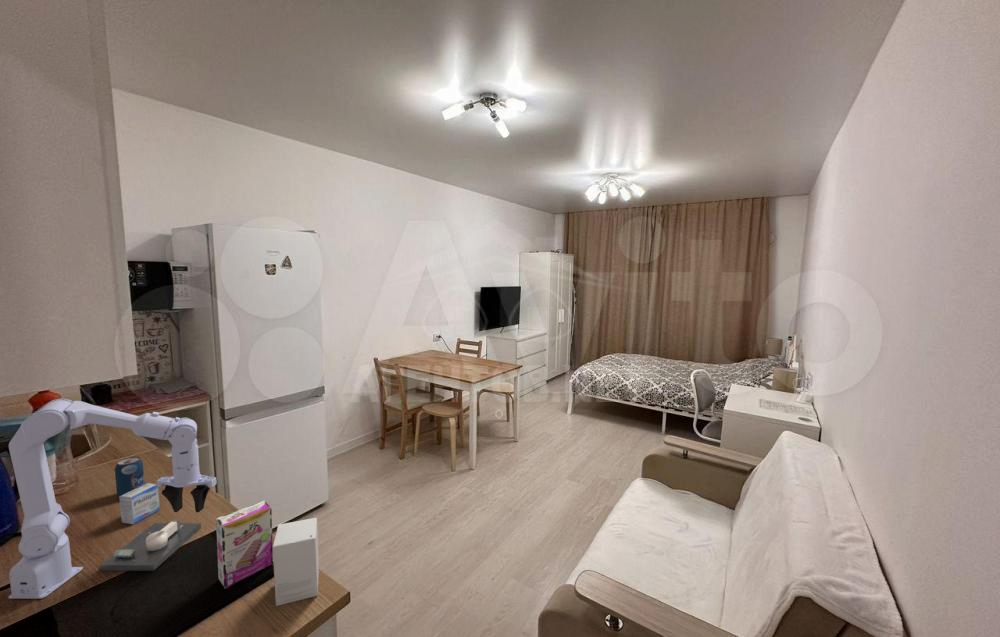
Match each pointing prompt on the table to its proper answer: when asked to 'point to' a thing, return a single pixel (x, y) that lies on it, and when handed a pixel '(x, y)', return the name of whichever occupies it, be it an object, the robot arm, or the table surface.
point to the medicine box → (139, 503)
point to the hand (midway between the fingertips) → (189, 510)
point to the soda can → (129, 475)
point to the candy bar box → (244, 543)
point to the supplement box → (296, 561)
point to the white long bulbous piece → (161, 536)
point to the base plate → (143, 560)
